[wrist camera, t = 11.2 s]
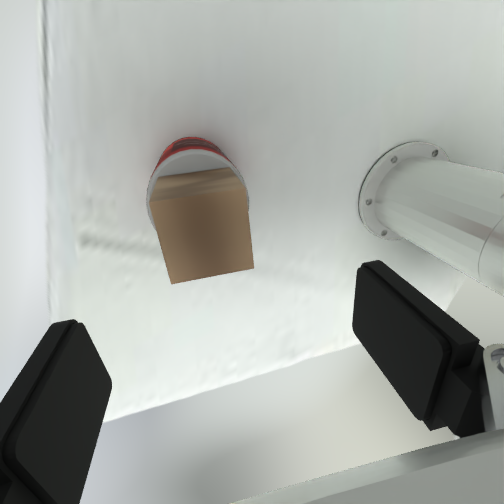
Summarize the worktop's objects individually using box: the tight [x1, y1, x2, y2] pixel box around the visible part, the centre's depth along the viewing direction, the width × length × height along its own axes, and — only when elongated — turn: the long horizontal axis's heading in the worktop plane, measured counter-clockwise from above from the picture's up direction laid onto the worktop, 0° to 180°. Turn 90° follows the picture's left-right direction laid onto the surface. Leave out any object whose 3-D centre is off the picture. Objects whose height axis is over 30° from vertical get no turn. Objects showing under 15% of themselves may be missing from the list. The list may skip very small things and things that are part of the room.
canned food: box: [146, 137, 249, 230], centre depth 26 cm, size 8×8×11 cm
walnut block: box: [149, 167, 254, 284], centre depth 18 cm, size 5×5×6 cm
